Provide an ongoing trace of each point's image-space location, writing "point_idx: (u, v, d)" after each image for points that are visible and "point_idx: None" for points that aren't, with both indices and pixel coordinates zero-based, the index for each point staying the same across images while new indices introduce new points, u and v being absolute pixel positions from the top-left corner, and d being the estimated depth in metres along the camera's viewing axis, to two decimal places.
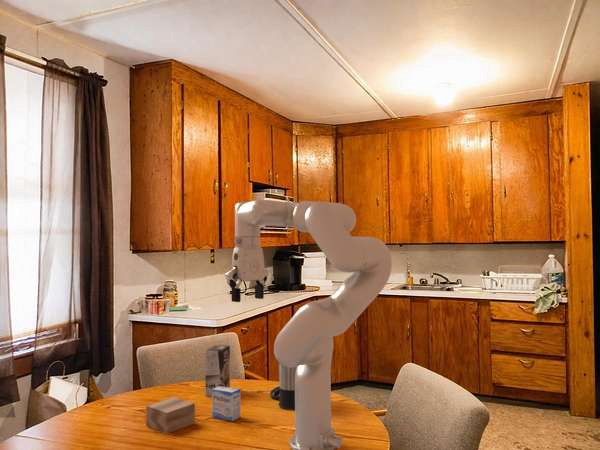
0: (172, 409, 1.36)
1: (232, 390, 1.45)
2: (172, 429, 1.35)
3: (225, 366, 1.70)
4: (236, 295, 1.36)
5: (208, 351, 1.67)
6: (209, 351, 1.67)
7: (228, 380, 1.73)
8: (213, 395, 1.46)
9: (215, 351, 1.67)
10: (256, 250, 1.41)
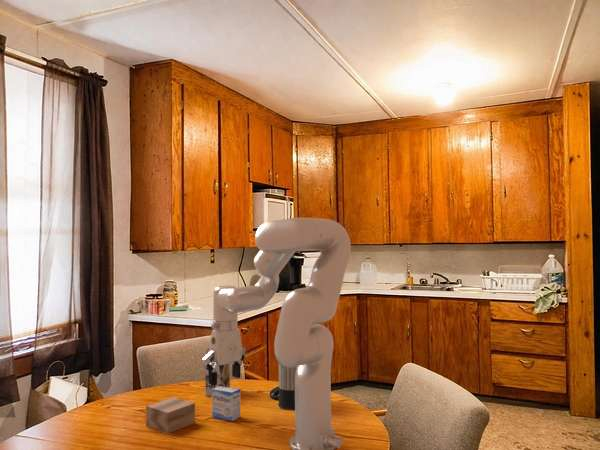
0: (173, 409, 1.37)
1: (232, 390, 1.45)
2: (173, 429, 1.35)
3: (225, 366, 1.70)
4: (213, 379, 1.42)
5: (208, 351, 1.67)
6: None
7: (228, 380, 1.73)
8: (213, 395, 1.46)
9: None
10: (233, 333, 1.46)
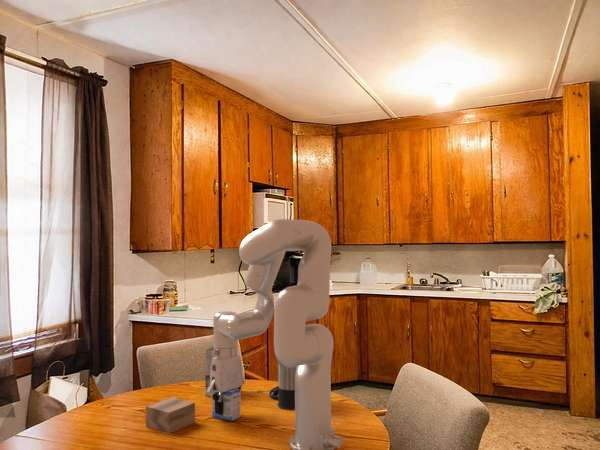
0: (174, 409, 1.37)
1: (232, 390, 1.45)
2: (174, 429, 1.35)
3: None
4: (219, 408, 1.43)
5: (208, 351, 1.67)
6: (209, 351, 1.67)
7: None
8: None
9: None
10: (233, 359, 1.46)
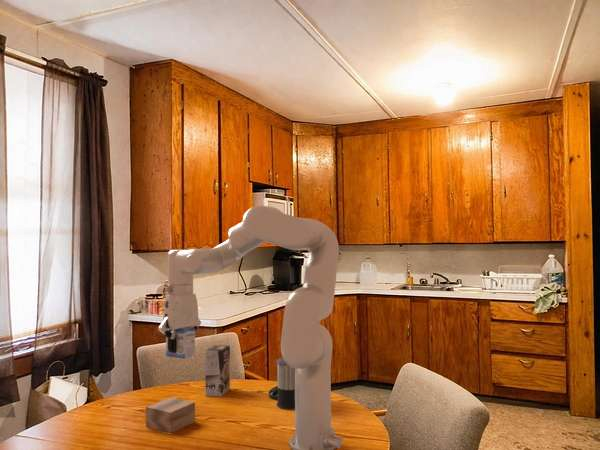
0: (175, 409, 1.37)
1: (186, 328, 1.41)
2: (175, 429, 1.35)
3: (225, 366, 1.70)
4: (172, 346, 1.39)
5: (208, 351, 1.67)
6: (209, 351, 1.67)
7: (228, 380, 1.73)
8: None
9: (215, 351, 1.67)
10: (188, 297, 1.42)
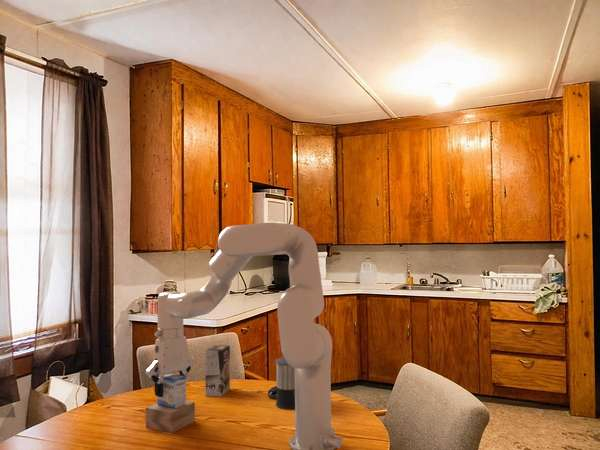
0: (176, 409, 1.37)
1: (177, 377, 1.39)
2: (176, 429, 1.36)
3: (225, 366, 1.70)
4: (158, 390, 1.37)
5: (208, 351, 1.67)
6: (209, 351, 1.67)
7: (228, 380, 1.73)
8: None
9: (215, 351, 1.67)
10: (178, 341, 1.41)
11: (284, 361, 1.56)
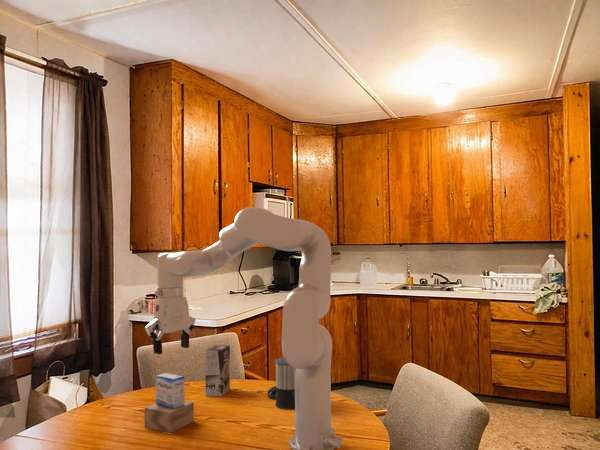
0: (175, 409, 1.37)
1: (175, 377, 1.39)
2: (175, 429, 1.36)
3: (225, 366, 1.70)
4: (157, 347, 1.37)
5: (208, 351, 1.67)
6: (209, 351, 1.67)
7: (228, 380, 1.73)
8: (157, 382, 1.41)
9: (215, 351, 1.67)
10: (178, 300, 1.41)
11: (283, 361, 1.56)
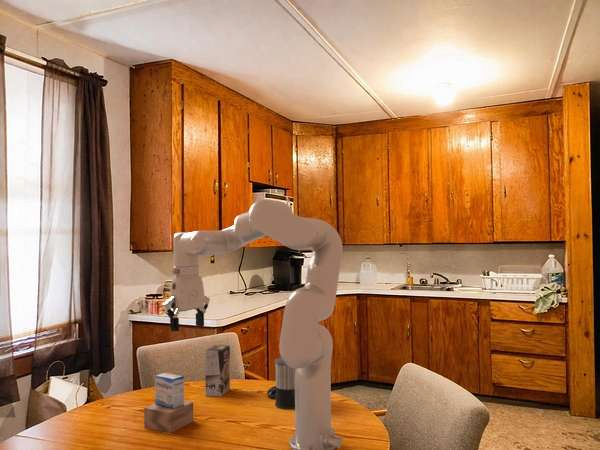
0: (174, 409, 1.37)
1: (174, 377, 1.39)
2: (175, 429, 1.36)
3: (225, 366, 1.70)
4: (174, 324, 1.39)
5: (208, 351, 1.67)
6: (209, 351, 1.67)
7: (228, 380, 1.73)
8: (156, 382, 1.41)
9: (215, 351, 1.67)
10: (194, 279, 1.44)
11: (283, 361, 1.56)
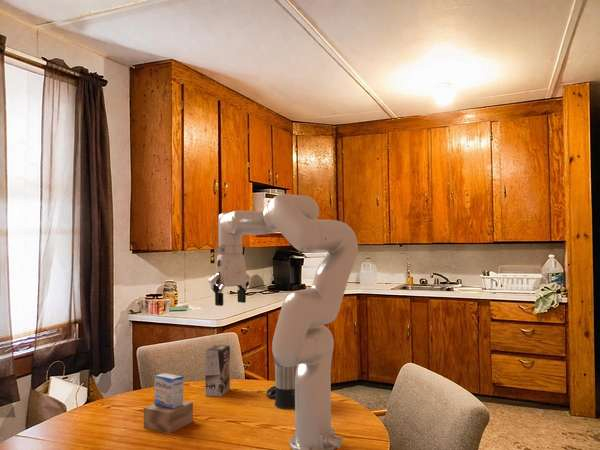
0: (174, 409, 1.37)
1: (174, 377, 1.39)
2: (174, 429, 1.35)
3: (225, 366, 1.70)
4: (219, 299, 1.47)
5: (208, 351, 1.67)
6: (209, 351, 1.67)
7: (228, 380, 1.73)
8: (155, 382, 1.41)
9: (215, 351, 1.67)
10: (238, 257, 1.51)
11: None
